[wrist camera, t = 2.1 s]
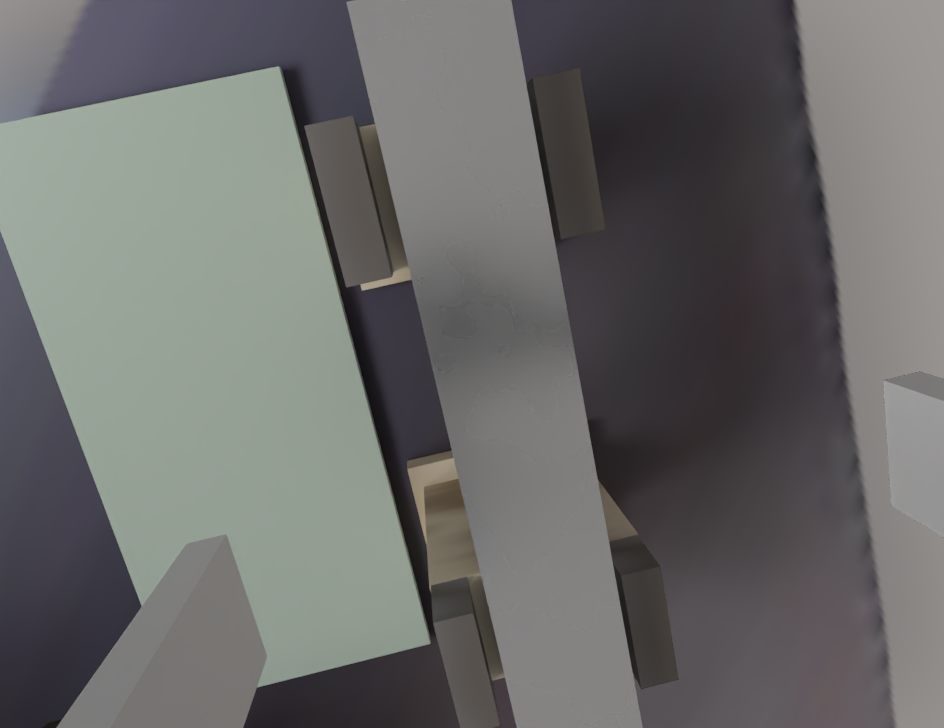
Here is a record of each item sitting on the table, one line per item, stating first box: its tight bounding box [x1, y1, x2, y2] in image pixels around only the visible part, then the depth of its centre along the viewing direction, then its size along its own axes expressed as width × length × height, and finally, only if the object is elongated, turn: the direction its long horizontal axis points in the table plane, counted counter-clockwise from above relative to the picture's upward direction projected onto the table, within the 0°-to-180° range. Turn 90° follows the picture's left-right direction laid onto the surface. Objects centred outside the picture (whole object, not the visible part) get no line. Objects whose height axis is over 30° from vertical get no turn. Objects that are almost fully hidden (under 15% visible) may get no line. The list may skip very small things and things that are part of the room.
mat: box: [0, 66, 431, 687], centre depth 28 cm, size 12×26×1 cm, turn 12°
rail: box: [347, 0, 643, 728], centre depth 18 cm, size 22×4×4 cm, turn 12°
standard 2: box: [304, 68, 606, 291], centre depth 22 cm, size 8×6×11 cm
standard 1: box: [407, 450, 678, 728], centre depth 25 cm, size 8×6×11 cm
